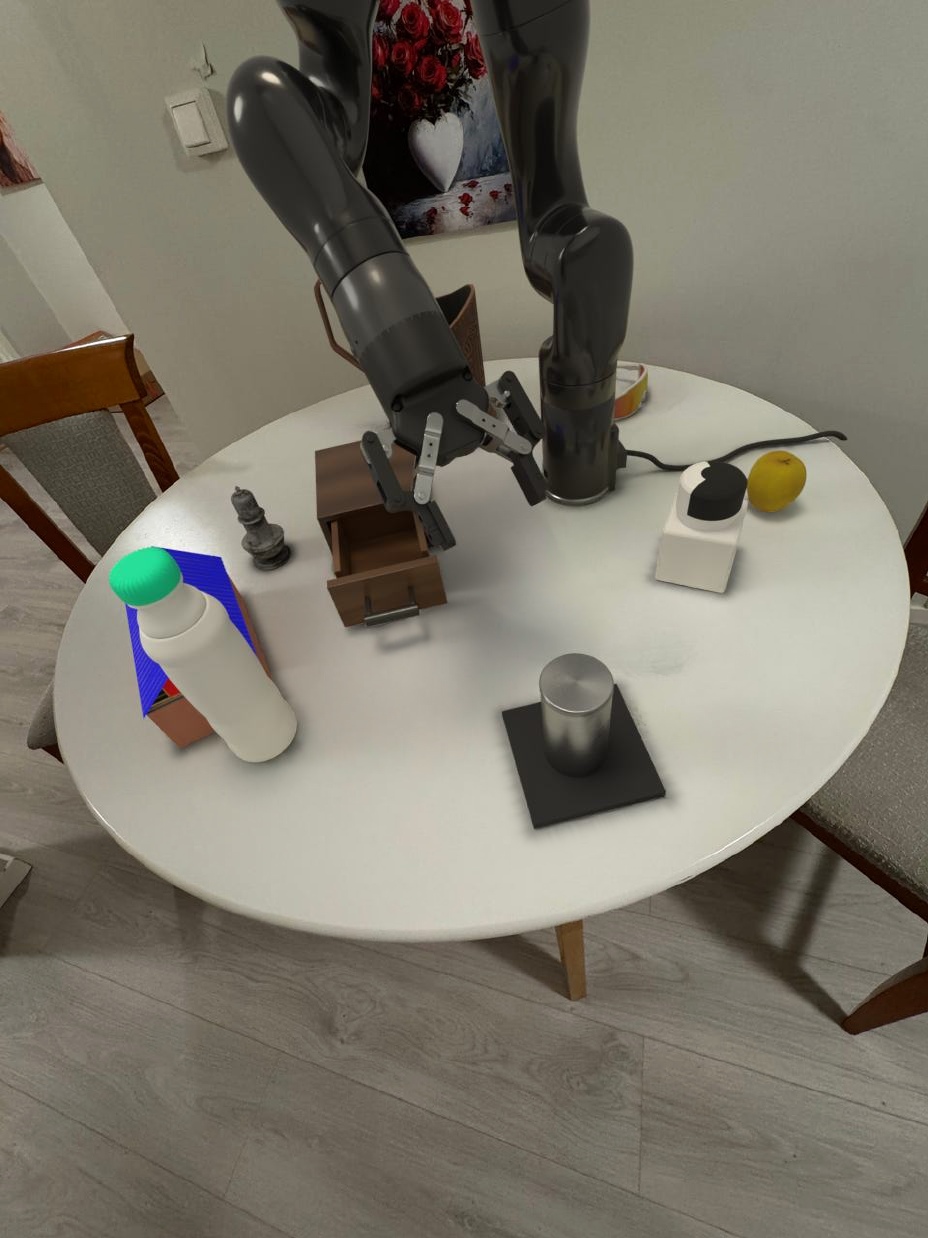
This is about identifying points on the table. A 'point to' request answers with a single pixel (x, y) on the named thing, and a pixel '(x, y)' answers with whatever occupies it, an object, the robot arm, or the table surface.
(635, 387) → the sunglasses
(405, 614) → the drawer
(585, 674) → the metal canister
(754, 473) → the apple
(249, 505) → the stone chess piece
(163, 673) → the house
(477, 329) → the brown embossed pitcher
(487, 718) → the table surface
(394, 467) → the cabinet
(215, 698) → the water bottle
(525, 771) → the coaster mat
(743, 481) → the container
